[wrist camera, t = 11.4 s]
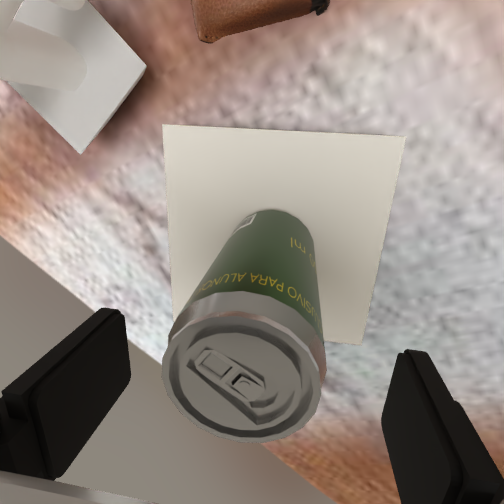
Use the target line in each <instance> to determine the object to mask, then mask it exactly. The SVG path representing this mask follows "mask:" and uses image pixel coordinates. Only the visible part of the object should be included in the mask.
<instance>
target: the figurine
mask: <svg viewBox="0 0 504 504" xmlns="http://www.w3.org/2000/svg"><path fill="white" fill-rule="evenodd" d="M23 1H24V2H23ZM22 2H23V3H22ZM21 3H22V5H21ZM20 5H21V7H20V9H19V11H18V13H17V15H16V17H15V19H14V20H13V18H14V16H15V14H16V12H17V10H18V8H19V6H20ZM146 67H147V66H146V64H145V63H144V62H143V61H142V60H141V59H140V58H139V57H138V56H137V54H136V53H135V52H134V51H133V50H132V49H131V48H130V47H129V46H128V45H127V43H126V42H125V41H124V40H123V39H122V38H121V37H120V36H119V35H118V33H117V32H116V31H115V30H114V29H113V28H112V27H111V26H110V25H109V23H108V22H107V21H106V20H105V19H104V18H103V17H102V16H101V15H100V14H99V12H98V11H97V10H96V9H95V8H94V7H93V6H92V5H91V4H90V2H89V1H88V0H0V80H5V81H7V82H8V83H9V84H10V85H11V86H12V87H13V88H14V89H15V90H16V91H17V92H18V93H19V94H20V95H21V96H22V97H23V98H24V99H25V100H26V101H27V102H28V103H29V104H30V105H31V106H32V107H33V108H34V109H35V110H36V111H37V112H38V113H39V114H40V115H41V116H42V117H43V118H44V119H45V120H46V121H47V122H48V123H49V124H50V125H51V126H52V127H53V128H54V129H55V130H56V131H57V132H58V133H59V134H60V135H61V136H62V137H63V138H64V139H65V140H66V141H67V142H68V143H69V144H70V145H71V146H72V147H73V148H74V149H75V150H76V151H77V152H78V153H79V154H80V155H81V154H82V153H83V151H84V150H85V149H86V148H87V147H88V146H89V144H90V143H91V142H92V141H93V140H94V138H95V137H96V136H97V135H98V134H99V132H100V131H101V130H102V129H103V128H104V126H105V125H106V124H107V123H108V122H109V120H110V119H111V118H112V116H113V115H114V114H115V112H116V111H117V110H118V108H119V107H120V106H121V104H122V103H123V102H124V100H125V99H126V98H127V96H128V95H129V94H130V92H131V91H132V90H133V88H134V87H135V86H136V84H137V83H138V82H139V80H140V79H141V78H142V76H143V74H144V72H145V69H146Z"/></svg>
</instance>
